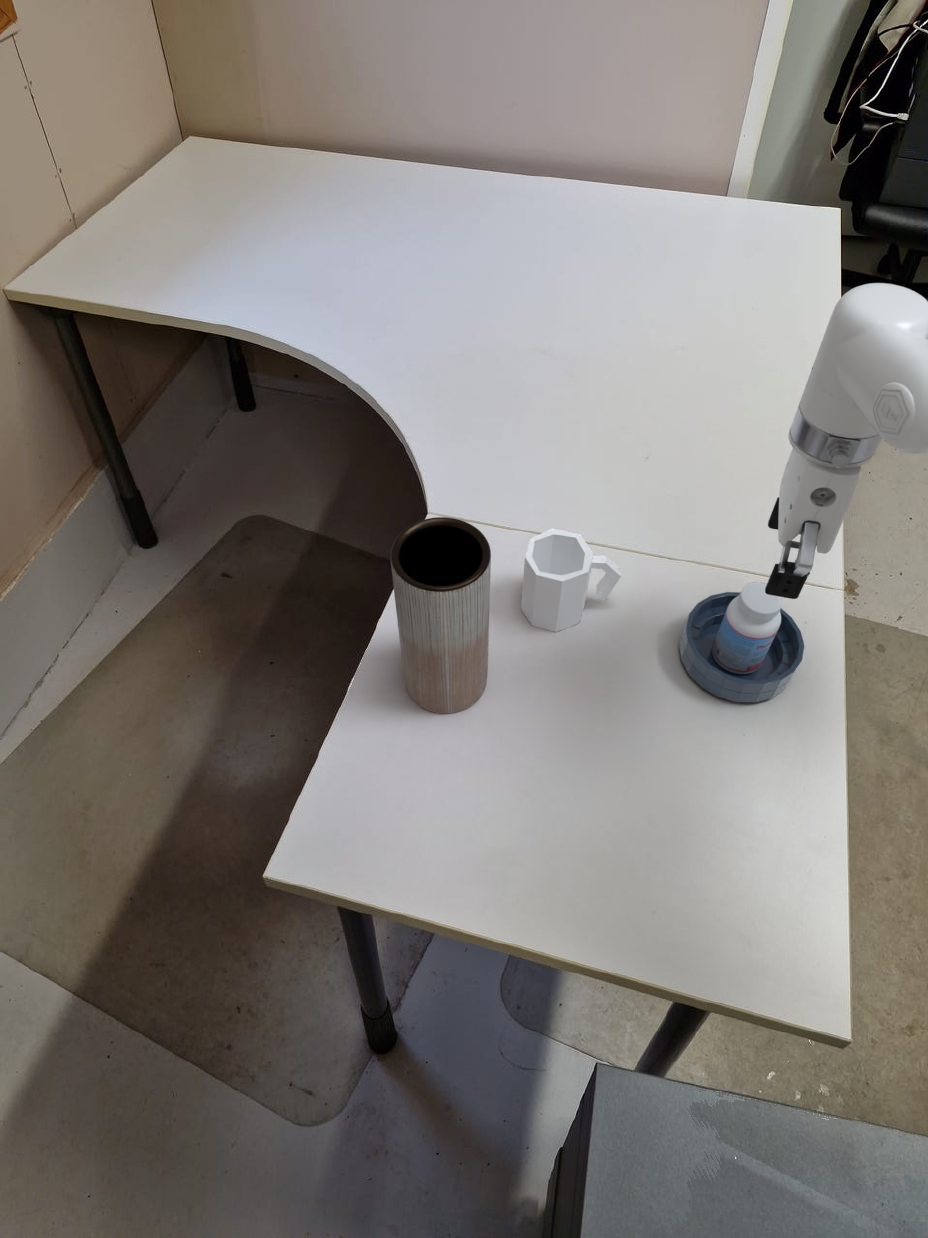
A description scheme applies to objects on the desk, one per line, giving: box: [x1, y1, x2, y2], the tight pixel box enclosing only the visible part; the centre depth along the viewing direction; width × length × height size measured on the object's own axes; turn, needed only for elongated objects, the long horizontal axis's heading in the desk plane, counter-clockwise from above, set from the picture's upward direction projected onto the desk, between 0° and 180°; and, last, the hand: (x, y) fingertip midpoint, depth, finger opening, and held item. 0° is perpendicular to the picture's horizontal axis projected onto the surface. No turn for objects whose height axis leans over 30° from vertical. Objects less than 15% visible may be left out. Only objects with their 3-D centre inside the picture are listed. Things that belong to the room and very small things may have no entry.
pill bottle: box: [712, 581, 784, 674], centre depth 96 cm, size 6×6×11 cm
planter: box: [389, 516, 492, 714], centre depth 90 cm, size 10×10×23 cm
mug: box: [520, 527, 622, 633], centre depth 102 cm, size 12×9×10 cm
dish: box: [679, 591, 805, 703], centre depth 99 cm, size 14×14×4 cm
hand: (781, 560), depth 86 cm, fingers open, 9 cm apart
